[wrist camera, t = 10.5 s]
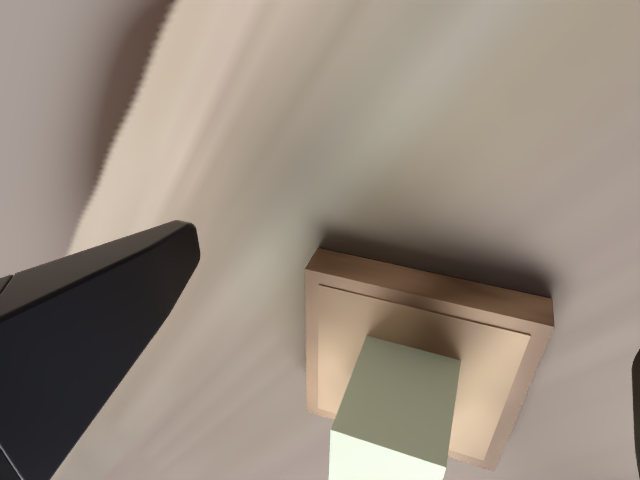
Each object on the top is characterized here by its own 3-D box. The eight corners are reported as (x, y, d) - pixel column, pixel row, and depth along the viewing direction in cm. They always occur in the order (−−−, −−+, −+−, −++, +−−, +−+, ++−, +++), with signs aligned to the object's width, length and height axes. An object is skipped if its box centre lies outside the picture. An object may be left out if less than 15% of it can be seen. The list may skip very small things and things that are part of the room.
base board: (552, 298, 22) (554, 327, 21) (496, 442, 29) (494, 472, 28) (318, 247, 26) (304, 269, 24) (316, 387, 33) (306, 411, 31)
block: (461, 360, 24) (446, 467, 19) (445, 419, 27) (428, 525, 22) (366, 335, 25) (330, 429, 20) (360, 394, 28) (328, 488, 23)
